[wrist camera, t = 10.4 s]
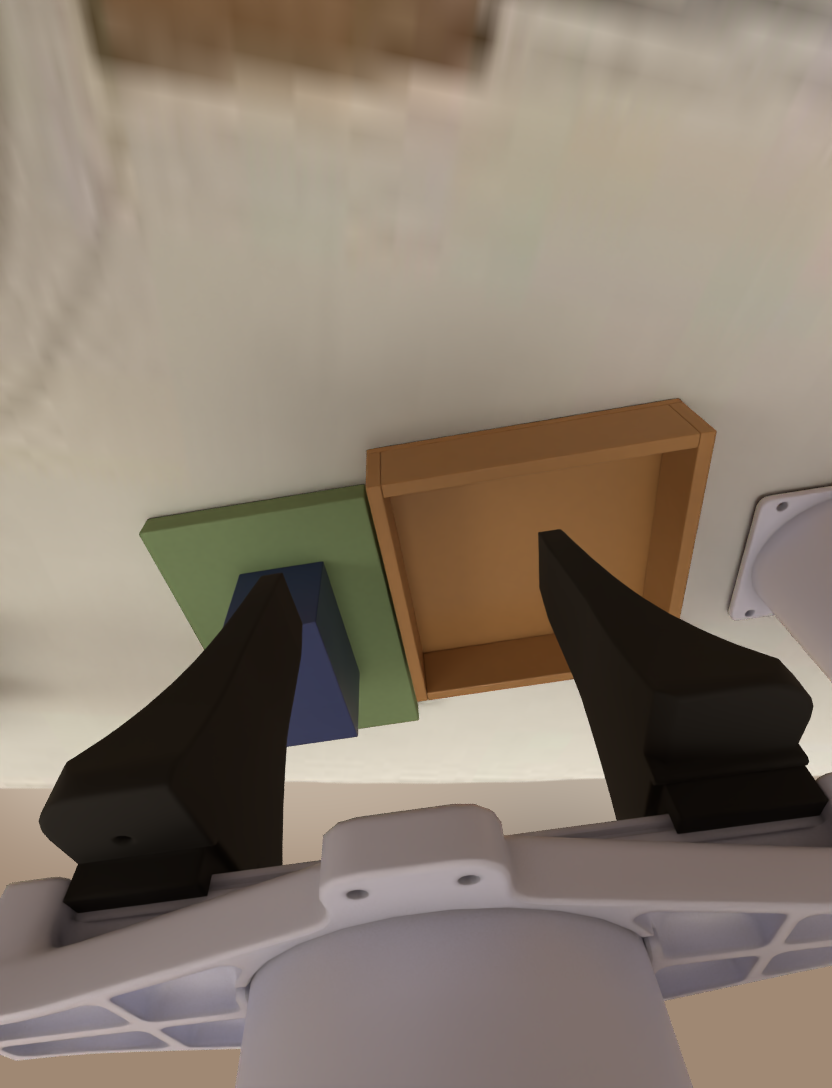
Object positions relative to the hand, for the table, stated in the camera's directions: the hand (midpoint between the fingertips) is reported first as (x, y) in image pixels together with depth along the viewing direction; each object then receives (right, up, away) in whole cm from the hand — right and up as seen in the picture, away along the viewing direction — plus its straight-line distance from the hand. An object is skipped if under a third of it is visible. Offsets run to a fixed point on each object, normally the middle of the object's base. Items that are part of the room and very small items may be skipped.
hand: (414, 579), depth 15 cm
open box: (+5, +1, +12) cm, 13 cm away
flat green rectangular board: (-6, -3, +14) cm, 15 cm away
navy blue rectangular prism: (-6, -3, +12) cm, 14 cm away
